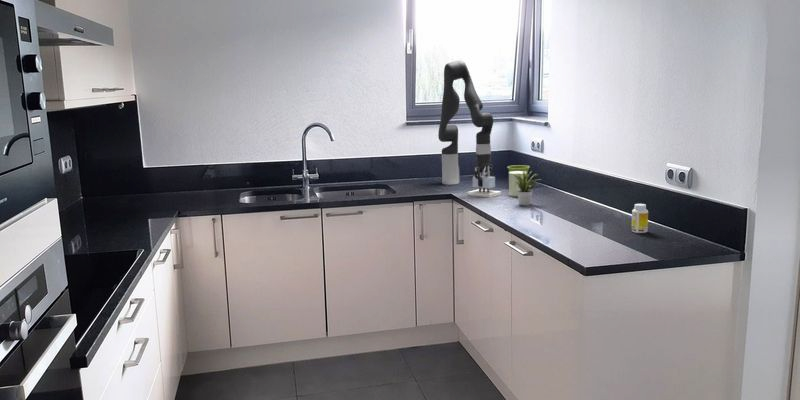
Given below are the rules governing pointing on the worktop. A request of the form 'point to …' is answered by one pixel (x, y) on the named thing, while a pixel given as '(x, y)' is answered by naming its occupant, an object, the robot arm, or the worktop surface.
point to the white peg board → (484, 192)
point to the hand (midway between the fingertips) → (483, 185)
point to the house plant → (524, 188)
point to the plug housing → (485, 182)
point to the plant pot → (518, 168)
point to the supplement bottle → (640, 218)
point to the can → (511, 185)
